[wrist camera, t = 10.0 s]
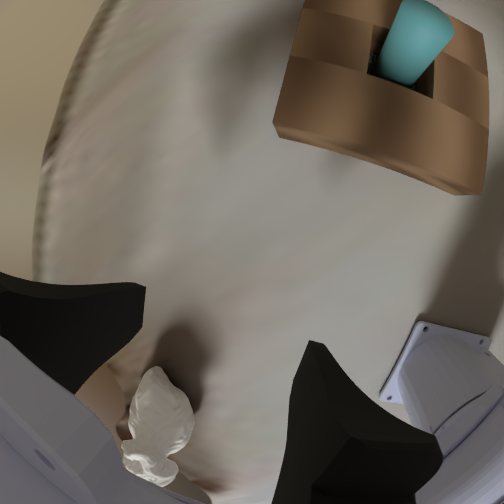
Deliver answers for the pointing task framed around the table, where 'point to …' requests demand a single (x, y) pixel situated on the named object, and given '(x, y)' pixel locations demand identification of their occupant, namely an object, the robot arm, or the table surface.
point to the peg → (413, 42)
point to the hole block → (387, 97)
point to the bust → (157, 428)
